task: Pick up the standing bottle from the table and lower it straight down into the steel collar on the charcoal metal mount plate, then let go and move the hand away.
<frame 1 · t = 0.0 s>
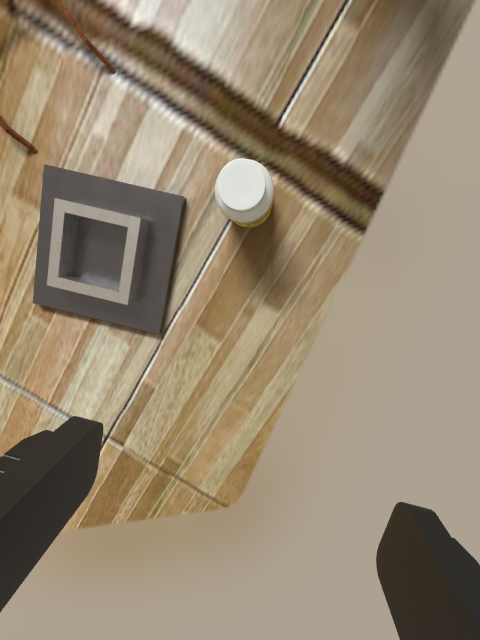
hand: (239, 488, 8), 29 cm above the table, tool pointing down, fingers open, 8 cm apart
glasses: (37, 66, 34), on the table
supplement bottle: (248, 203, 35), on the table
mount: (108, 252, 37), on the table
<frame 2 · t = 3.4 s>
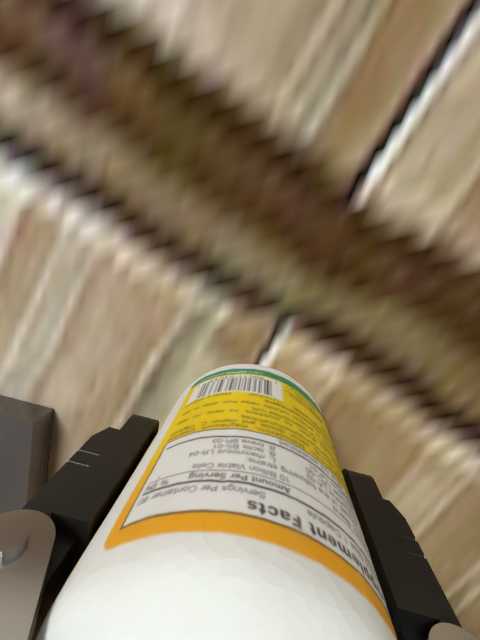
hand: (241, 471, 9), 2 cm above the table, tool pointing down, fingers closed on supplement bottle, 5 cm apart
supplement bottle: (247, 429, 11), on the table, touching gripper
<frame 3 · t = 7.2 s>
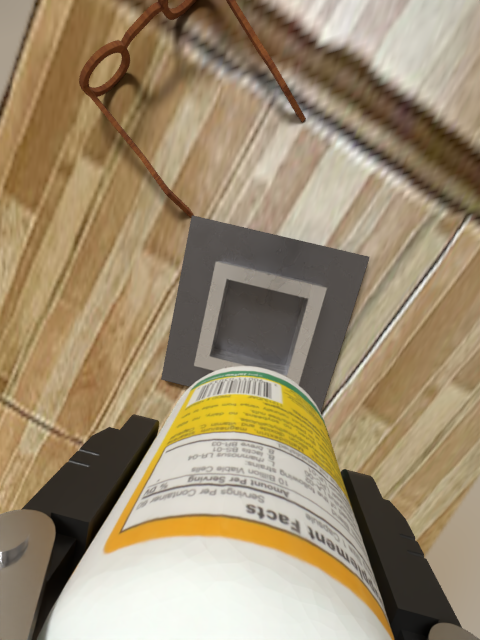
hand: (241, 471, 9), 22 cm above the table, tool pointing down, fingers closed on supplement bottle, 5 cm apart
glasses: (200, 112, 28), on the table
supplement bottle: (246, 431, 11), point 20 cm above the table, touching gripper
mount: (258, 320, 30), on the table
when the fingers open (4 cm above the table, at t = 11.2 s): supplement bottle drops 1 cm, resting on mount.
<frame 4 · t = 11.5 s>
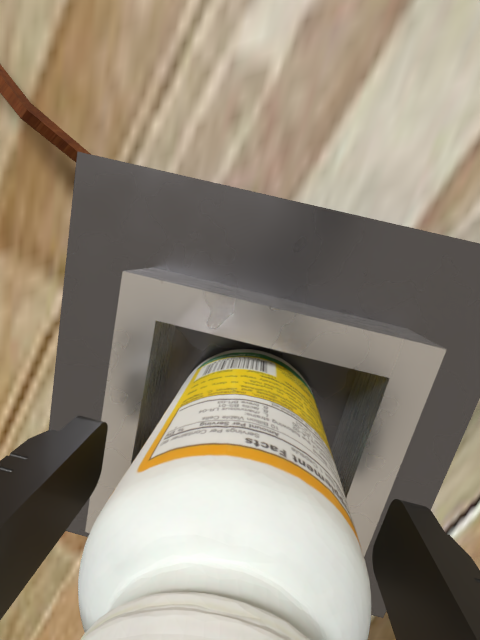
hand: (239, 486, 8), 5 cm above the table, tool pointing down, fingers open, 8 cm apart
supplement bottle: (246, 409, 13), point 1 cm above the table, touching mount
mount: (250, 401, 13), on the table
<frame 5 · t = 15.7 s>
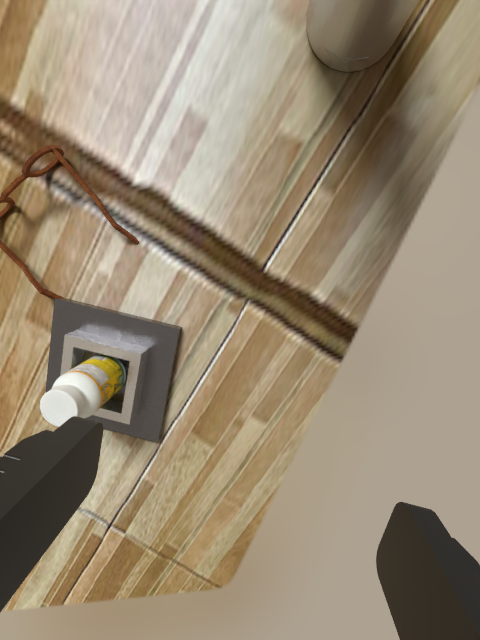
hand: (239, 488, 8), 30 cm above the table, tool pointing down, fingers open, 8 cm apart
glasses: (68, 232, 39), on the table
supplement bottle: (108, 372, 40), point 1 cm above the table, touching mount
mount: (111, 370, 41), on the table
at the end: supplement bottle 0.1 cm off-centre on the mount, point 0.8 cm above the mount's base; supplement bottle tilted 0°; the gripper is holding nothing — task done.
